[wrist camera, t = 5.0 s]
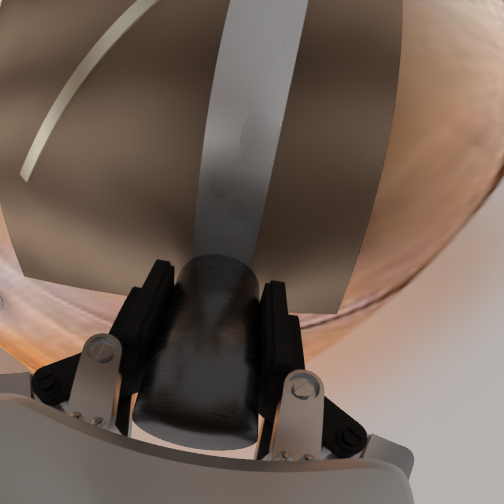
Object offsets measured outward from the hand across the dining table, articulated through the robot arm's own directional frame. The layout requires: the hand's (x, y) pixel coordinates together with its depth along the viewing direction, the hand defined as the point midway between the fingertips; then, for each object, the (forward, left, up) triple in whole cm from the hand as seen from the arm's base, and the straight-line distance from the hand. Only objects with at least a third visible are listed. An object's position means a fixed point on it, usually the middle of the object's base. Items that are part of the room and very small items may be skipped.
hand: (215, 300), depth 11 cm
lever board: (-10, -4, -5) cm, 12 cm away
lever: (-9, +1, -2) cm, 9 cm away
